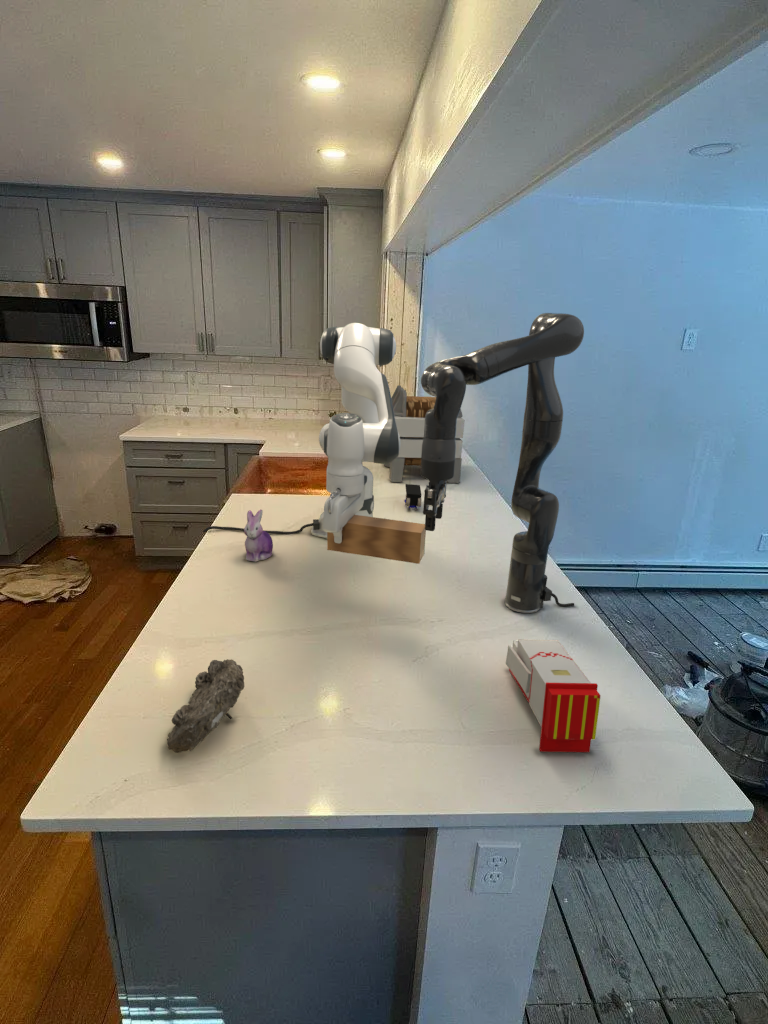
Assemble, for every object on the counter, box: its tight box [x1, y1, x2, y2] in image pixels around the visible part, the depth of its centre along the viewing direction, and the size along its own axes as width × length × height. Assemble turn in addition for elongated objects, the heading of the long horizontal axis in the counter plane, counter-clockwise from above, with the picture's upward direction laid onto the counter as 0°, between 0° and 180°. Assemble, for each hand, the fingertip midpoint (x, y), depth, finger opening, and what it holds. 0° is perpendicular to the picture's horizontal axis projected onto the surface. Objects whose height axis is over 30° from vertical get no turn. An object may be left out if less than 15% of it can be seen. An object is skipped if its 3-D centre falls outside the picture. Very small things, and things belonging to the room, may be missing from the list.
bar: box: [326, 515, 427, 565], centre depth 138 cm, size 23×6×8 cm, turn 75°
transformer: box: [383, 384, 465, 484], centre depth 268 cm, size 34×33×41 cm
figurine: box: [243, 508, 274, 562], centre depth 175 cm, size 9×10×15 cm
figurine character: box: [403, 483, 422, 512], centre depth 227 cm, size 7×8×15 cm
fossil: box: [166, 658, 245, 754], centre depth 106 cm, size 22×10×15 cm
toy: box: [505, 638, 602, 753], centre depth 114 cm, size 12×13×30 cm
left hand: (343, 536), depth 140 cm, fingers closed on bar, 6 cm apart
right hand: (433, 523), depth 132 cm, fingers open, 8 cm apart
